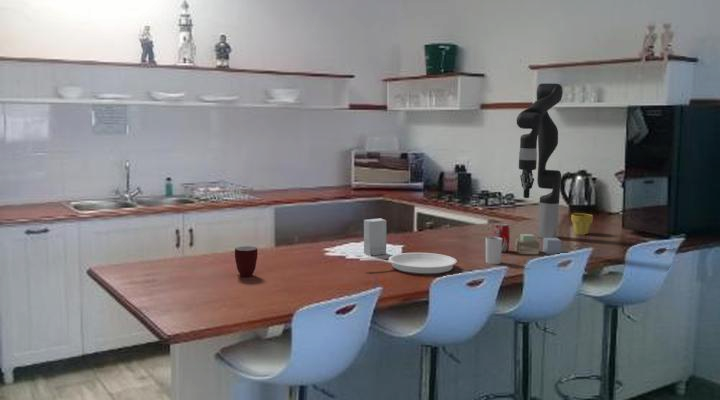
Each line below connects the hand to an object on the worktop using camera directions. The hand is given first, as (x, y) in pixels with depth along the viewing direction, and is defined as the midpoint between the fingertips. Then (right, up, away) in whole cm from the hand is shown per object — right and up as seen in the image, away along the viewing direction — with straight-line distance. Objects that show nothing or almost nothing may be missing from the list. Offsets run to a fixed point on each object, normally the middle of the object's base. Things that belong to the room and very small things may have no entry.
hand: (526, 197), depth 290 cm
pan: (-55, -28, -36) cm, 72 cm away
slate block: (+11, -24, -2) cm, 26 cm away
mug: (-115, -28, -51) cm, 129 cm away
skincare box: (-67, -24, -11) cm, 72 cm away
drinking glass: (-20, -27, -24) cm, 41 cm away
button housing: (0, -24, -2) cm, 24 cm away
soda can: (-11, -24, -1) cm, 26 cm away
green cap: (0, -21, -3) cm, 21 cm away
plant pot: (+40, -18, +46) cm, 63 cm away
